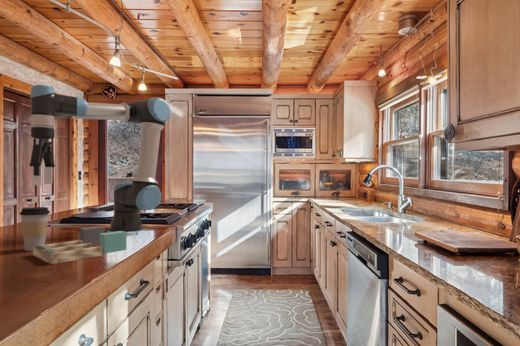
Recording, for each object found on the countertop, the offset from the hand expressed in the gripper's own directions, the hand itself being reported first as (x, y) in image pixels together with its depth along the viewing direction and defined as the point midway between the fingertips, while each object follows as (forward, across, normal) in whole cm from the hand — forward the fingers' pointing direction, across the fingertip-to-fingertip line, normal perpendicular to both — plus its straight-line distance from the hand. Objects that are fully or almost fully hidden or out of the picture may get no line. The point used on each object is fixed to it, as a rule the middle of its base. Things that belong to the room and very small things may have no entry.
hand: (43, 184), depth 129 cm
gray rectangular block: (+24, -2, +16) cm, 29 cm away
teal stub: (+24, +13, +25) cm, 37 cm away
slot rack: (+24, +16, +12) cm, 31 cm away
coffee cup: (+24, +3, -2) cm, 24 cm away
